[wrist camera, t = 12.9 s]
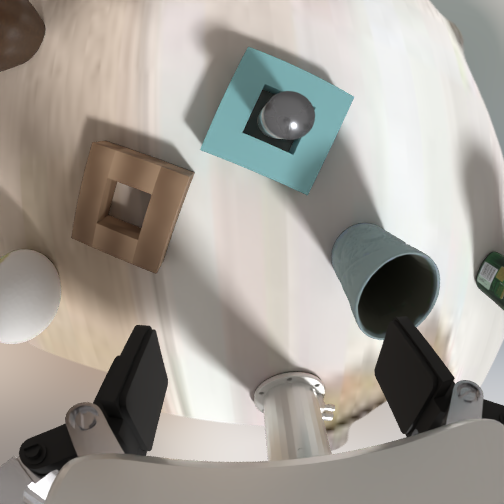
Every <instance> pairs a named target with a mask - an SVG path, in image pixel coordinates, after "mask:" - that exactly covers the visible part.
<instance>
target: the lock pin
mask: <svg viewBox="0 0 504 504" xmlns="http://www.w3.org/2000/svg"><path fill="white" fill-rule="evenodd" d="M314 121H315V111H314V108H313V106H312V104H311V102H310V101H309V100H308V99H307V98H306V97H305V96H304V95H302V94H300V93H298V92H294V91H283V92H280V93H277V94H276V95H274V96H273V97H272V98H271V99H270V100H269V101H268V102H267V104H266V105H265V106H264V107H263V109H262V110H261V111H260V113H259V115H258V120H257V122H258V127H259V129H260V130H261V132H262V133H263V134H264V135H266V136H268V137H270V138H277V139H289V140H293V139H298V138H301V137H303V136H305V135H306V134H307V133H308V132H309V131H310V130H311V129H312V127H313V125H314Z"/></svg>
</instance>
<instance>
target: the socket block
mask: <svg viewBox="0 0 504 504" xmlns="http://www.w3.org/2000/svg"><path fill="white" fill-rule="evenodd" d="M262 89H263V90H265V91H268V92H270V93H272V94H275V95H276V94H277V93H280V92H283V91H294V92H298V93H300V94H302V95H304V96H305V97H306V98H307V99H308V100H309V101H310V102H311V104H312V106H313V108H314V111H315V121H314V125H313V127H312V129H311V130H310V131H309V132H308V133H307V134H306V135H305V136H303V137H301V138H298V139H294V141H293V143H292V146H291V148H290V150H289V152H286V151H284V150H281V149H279V148H277V147H275V146H272V145H270V144H268V143H266V142H263V141H261V140H259V139H256V138H254V137H252V136H249V135H247V134H244V133H242V132H243V130H244V128H245V126H246V123H247V121H248V119H249V117H250V115H251V113H252V111H253V108H254V106H255V104H256V102H257V100H258V98H259V96H260V94H261V92H262ZM353 99H354V97H353V96H352V95H350V94H348V93H346V92H345V91H343V90H341V89H339V88H338V87H336V86H334V85H332V84H330V83H328V82H326V81H325V80H323V79H321V78H319V77H317V76H315V75H313V74H311V73H309V72H307V71H305V70H303V69H300V68H298V67H296V66H294V65H292V64H290V63H287V62H285V61H283V60H280V59H278V58H276V57H273V56H271V55H268V54H266V53H264V52H261V51H258V50H256V49H253V48H250V47H248V48H247V50H246V52H245V54H244V56H243V58H242V60H241V62H240V64H239V66H238V68H237V70H236V72H235V74H234V76H233V78H232V80H231V82H230V84H229V86H228V88H227V90H226V92H225V94H224V97H223V99H222V101H221V103H220V105H219V107H218V110H217V112H216V114H215V116H214V119H213V121H212V123H211V125H210V128H209V130H208V132H207V135H206V137H205V140H204V142H203V144H202V147H201V149H200V150H202V151H204V152H207V153H209V154H212V155H215V156H217V157H220V158H222V159H225V160H227V161H230V162H232V163H235V164H237V165H240V166H242V167H244V168H247V169H249V170H252V171H254V172H256V173H259V174H261V175H263V176H266V177H268V178H270V179H273V180H275V181H277V182H279V183H282V184H284V185H286V186H288V187H290V188H293V189H295V190H297V191H299V192H301V193H303V194H306V195H308V194H309V192H310V190H311V188H312V186H313V183H314V181H315V179H316V177H317V175H318V173H319V171H320V169H321V167H322V165H323V163H324V161H325V159H326V157H327V154H328V152H329V150H330V148H331V146H332V144H333V142H334V140H335V138H336V135H337V133H338V131H339V129H340V127H341V125H342V123H343V120H344V118H345V116H346V114H347V112H348V110H349V107H350V105H351V103H352V101H353Z"/></svg>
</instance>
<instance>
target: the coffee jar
mask: <svg viewBox="0 0 504 504" xmlns="http://www.w3.org/2000/svg"><path fill="white" fill-rule="evenodd" d="M476 284H477V286H478V288H479V289H480V290H481V291H482V292H484V293H485V294H486V295H487V296H488V297H489V298H490V299H492V300H493V301H494V302H495V303H496V304H497V305H499V306H500V307H501V308H502V309H503V310H504V256H503V255H501V254H500V253H497V252H492V253H491V254H490V255H488V257H487V258H486V259H485V260H484V262H483V263H482V265H481V267H480V269H479V272H478V275H477V280H476Z"/></svg>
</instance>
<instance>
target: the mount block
mask: <svg viewBox="0 0 504 504" xmlns="http://www.w3.org/2000/svg"><path fill="white" fill-rule="evenodd" d="M194 173H195V172H192V171H189V170H187V169H184V168H181V167H179V166H176V165H173V164H171V163H168V162H165V161H163V160H160V159H157V158H154V157H151V156H149V155H146V154H143V153H140V152H137V151H134V150H131V149H129V148H126V147H123V146H120V145H117V144H114V143H111V142H108V141H100V142H92V145H91V149H90V152H89V156H88V160H87V163H86V167H85V171H84V175H83V179H82V184H81V188H80V193H79V197H78V202H77V207H76V213H75V218H74V224H73V230H72V237H71V238H73V239H75V240H77V241H79V242H82V243H84V244H86V245H88V246H91V247H93V248H95V249H98V250H100V251H102V252H105V253H107V254H109V255H112V256H114V257H116V258H119V259H121V260H124V261H126V262H128V263H131V264H133V265H136V266H138V267H141V268H143V269H146V270H148V271H151V272H153V273H157V272H158V270H159V268H160V266H161V264H162V263H163V260H164V257H165V254H166V251H167V248H168V245H169V242H170V239H171V236H172V233H173V230H174V227H175V224H176V222H177V219H178V216H179V213H180V210H181V208H182V205H183V202H184V199H185V197H186V194H187V191H188V189H189V186H190V183H191V181H192V178H193V176H194ZM117 182H120V183H123V184H125V185H128V186H131V187H133V188H136V189H138V190H141V191H144V192H146V193H149V194H152V195H151V198H150V202H149V205H148V208H147V211H146V214H145V218H144V221H143V225H142V228H140V227H138V226H135V225H133V224H130V223H128V222H125V221H123V220H120V219H118V218H115V217H113V216H110V215H109V211H110V207H111V203H112V199H113V195H114V191H115V188H116V184H117Z"/></svg>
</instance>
